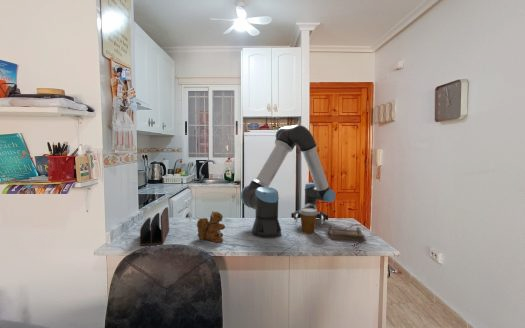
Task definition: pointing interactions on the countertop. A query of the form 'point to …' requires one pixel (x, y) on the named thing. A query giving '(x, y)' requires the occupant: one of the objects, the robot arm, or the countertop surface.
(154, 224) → the letter holder
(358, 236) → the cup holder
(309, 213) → the disposable coffee cup
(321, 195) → the robot arm
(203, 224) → the stuffed squirrel
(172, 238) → the countertop surface
